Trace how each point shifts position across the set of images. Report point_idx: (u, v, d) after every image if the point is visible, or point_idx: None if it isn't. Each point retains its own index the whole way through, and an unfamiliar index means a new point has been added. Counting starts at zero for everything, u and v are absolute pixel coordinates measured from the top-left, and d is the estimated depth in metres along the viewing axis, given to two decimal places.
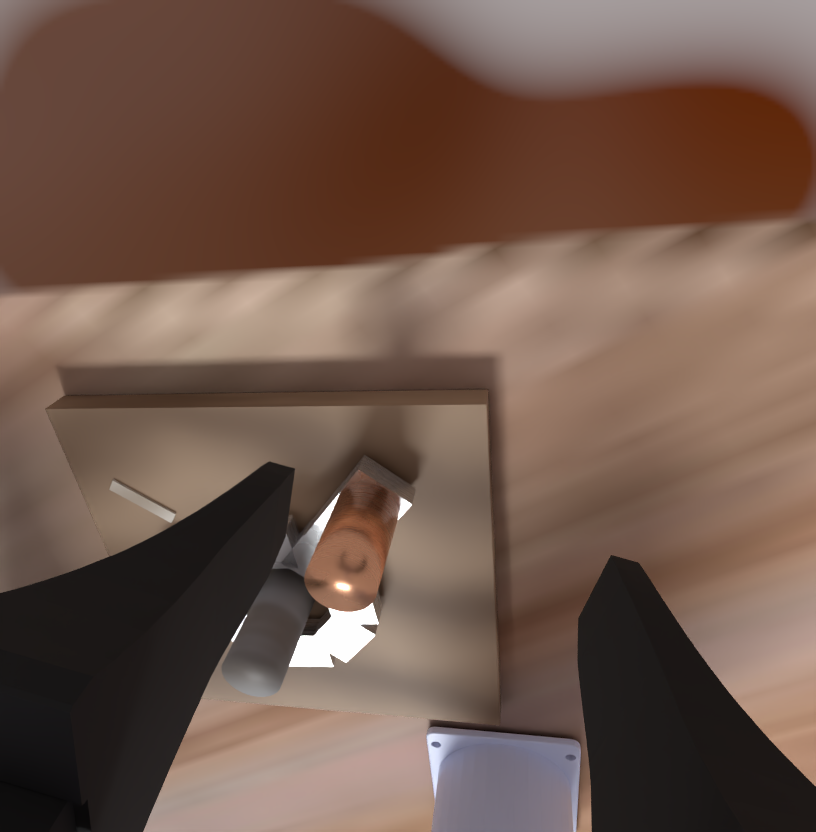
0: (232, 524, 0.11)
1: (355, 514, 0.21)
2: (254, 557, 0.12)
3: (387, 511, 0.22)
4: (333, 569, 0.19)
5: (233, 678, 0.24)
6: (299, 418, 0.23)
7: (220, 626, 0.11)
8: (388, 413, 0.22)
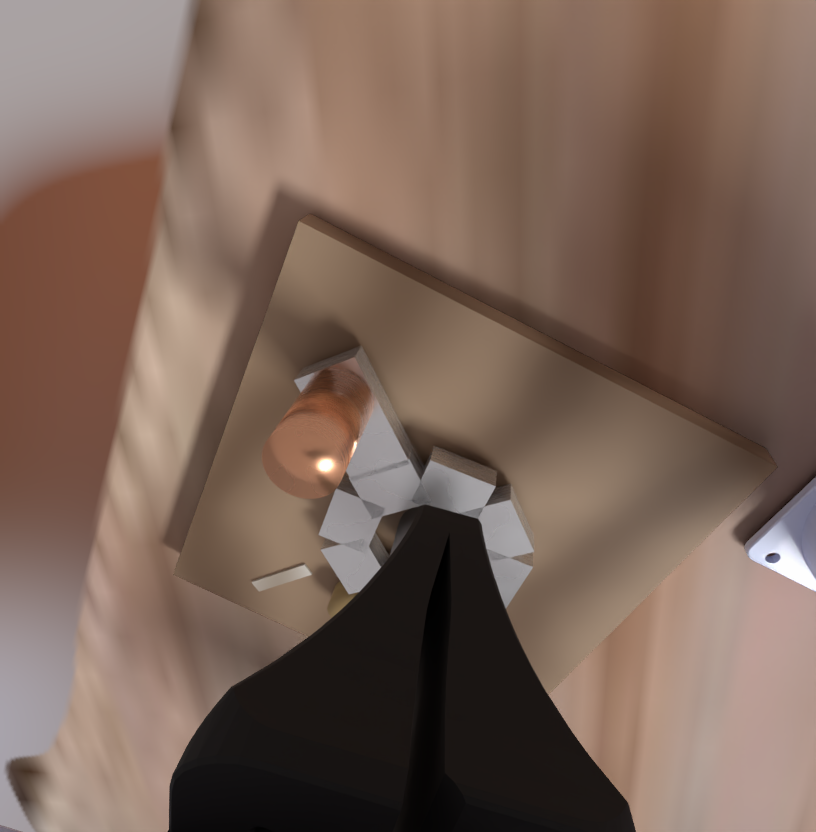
0: (425, 578, 0.11)
1: (290, 407, 0.19)
2: None
3: (325, 380, 0.19)
4: (279, 457, 0.17)
5: None
6: (250, 399, 0.23)
7: None
8: (274, 319, 0.21)
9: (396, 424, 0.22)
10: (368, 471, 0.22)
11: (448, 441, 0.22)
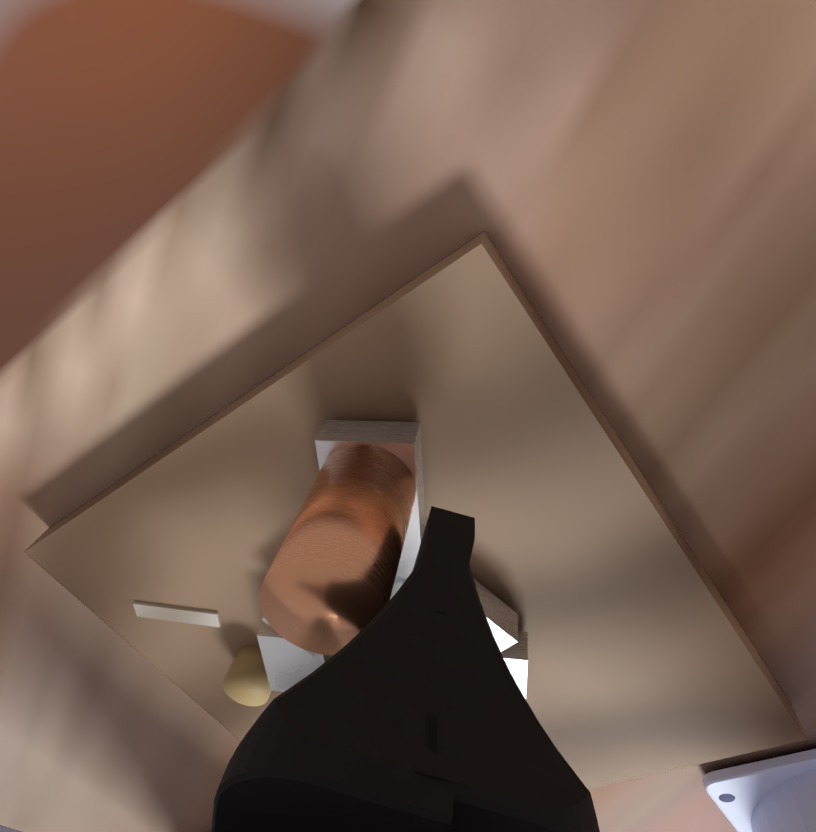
0: (454, 586, 0.11)
1: (312, 497, 0.13)
2: None
3: (370, 470, 0.13)
4: (290, 591, 0.11)
5: None
6: (264, 413, 0.16)
7: None
8: (362, 341, 0.15)
9: (423, 530, 0.16)
10: None
11: (488, 571, 0.17)
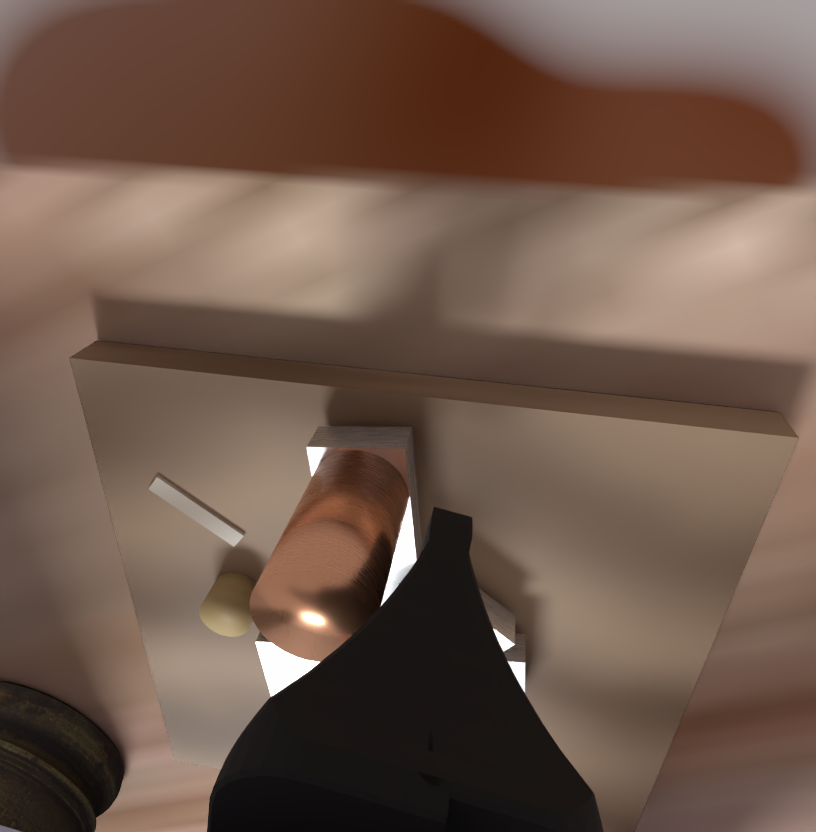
0: (451, 585, 0.11)
1: (303, 504, 0.13)
2: None
3: (361, 476, 0.13)
4: (280, 600, 0.11)
5: None
6: (483, 422, 0.15)
7: None
8: (631, 431, 0.14)
9: (418, 534, 0.16)
10: None
11: (533, 641, 0.18)
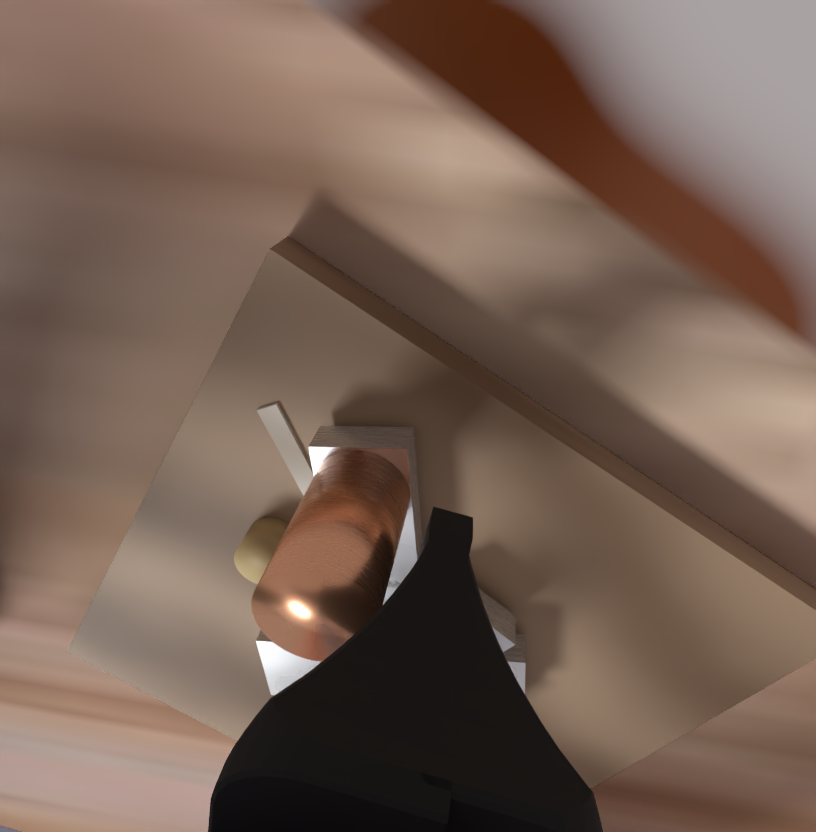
0: (451, 585, 0.11)
1: (305, 504, 0.13)
2: None
3: (363, 476, 0.13)
4: (282, 599, 0.11)
5: None
6: (632, 511, 0.15)
7: None
8: (741, 575, 0.16)
9: (419, 534, 0.16)
10: None
11: None
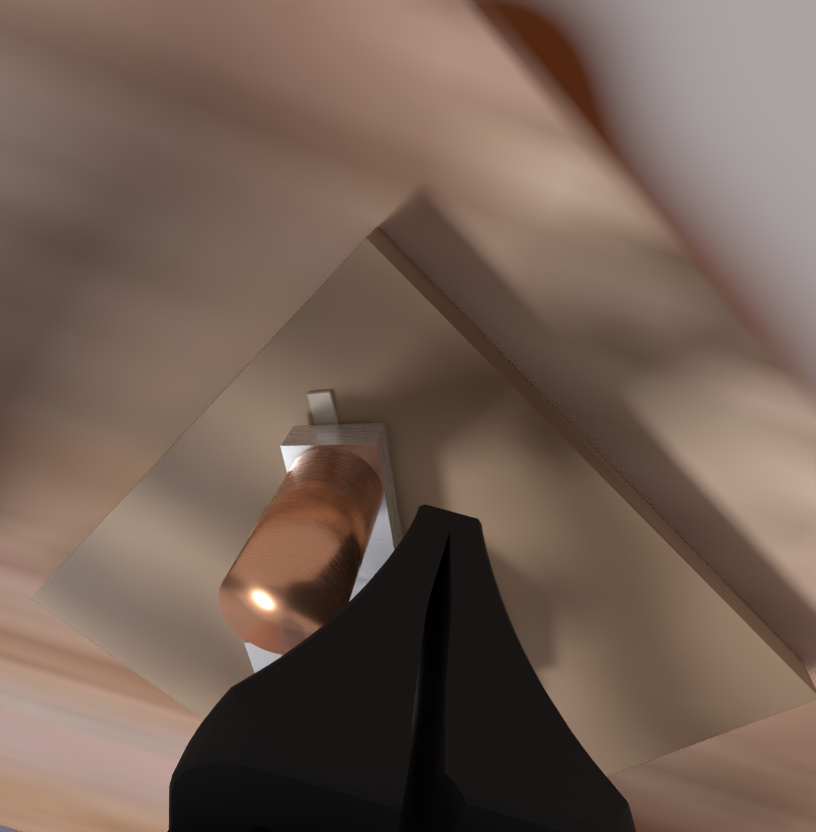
0: (425, 578, 0.11)
1: (274, 501, 0.13)
2: None
3: (331, 472, 0.14)
4: (247, 594, 0.11)
5: None
6: (653, 555, 0.16)
7: None
8: (735, 628, 0.17)
9: (397, 530, 0.16)
10: None
11: None
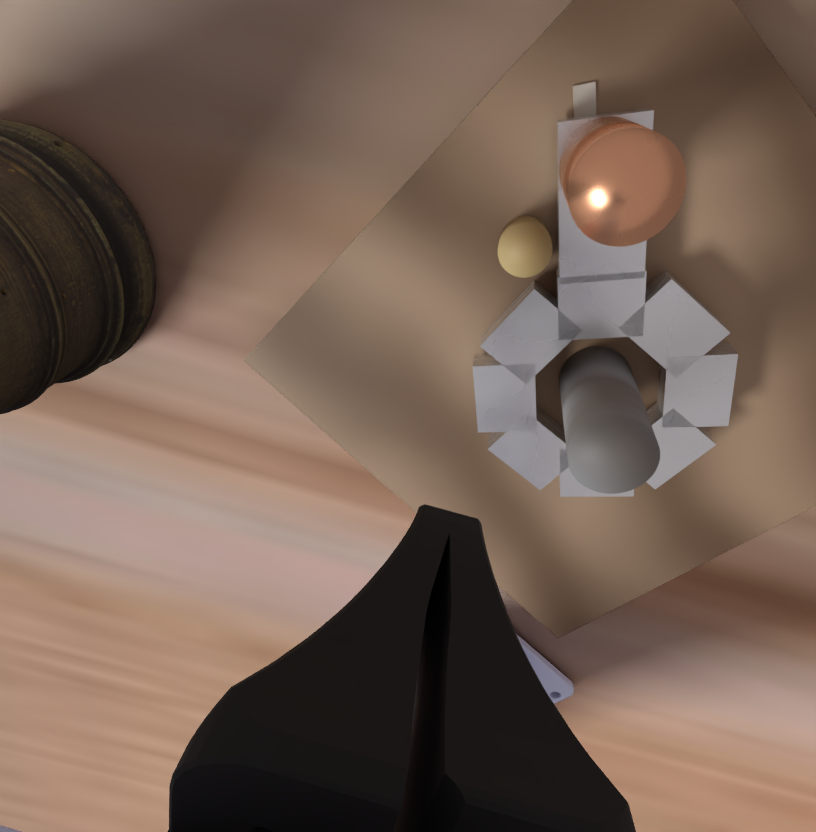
0: (425, 578, 0.11)
1: (586, 133, 0.14)
2: None
3: (626, 120, 0.15)
4: (600, 171, 0.13)
5: (588, 442, 0.16)
6: None
7: None
8: None
9: None
10: (588, 276, 0.18)
11: None
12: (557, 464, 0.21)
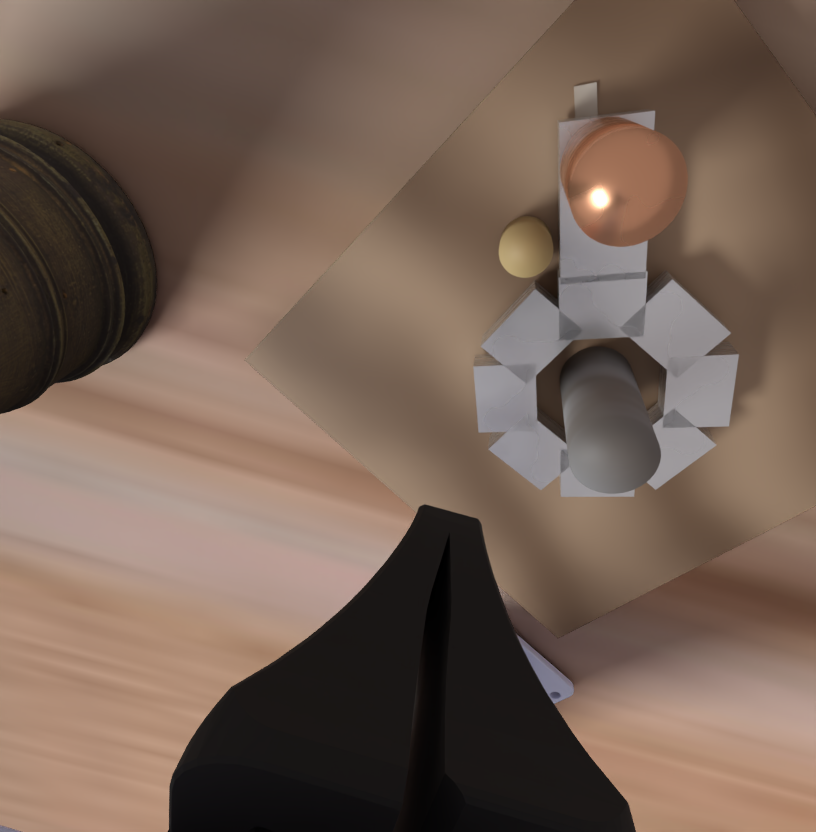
0: (425, 578, 0.11)
1: (587, 134, 0.14)
2: None
3: (627, 120, 0.15)
4: (602, 171, 0.13)
5: (589, 442, 0.16)
6: None
7: None
8: None
9: None
10: (588, 276, 0.18)
11: None
12: (558, 464, 0.21)
